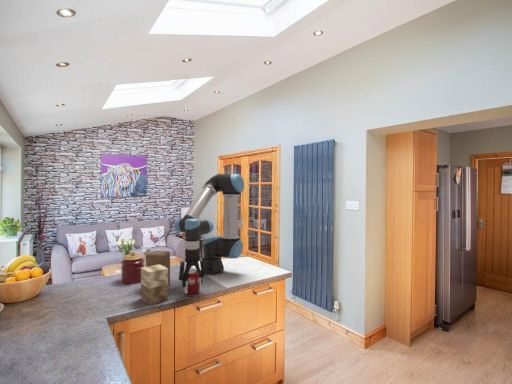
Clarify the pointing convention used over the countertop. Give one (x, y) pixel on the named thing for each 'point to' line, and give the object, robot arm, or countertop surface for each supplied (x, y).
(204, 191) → the robot arm
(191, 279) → the soda can
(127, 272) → the canister
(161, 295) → the tower base
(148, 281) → the tower top
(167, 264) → the block
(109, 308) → the countertop surface
